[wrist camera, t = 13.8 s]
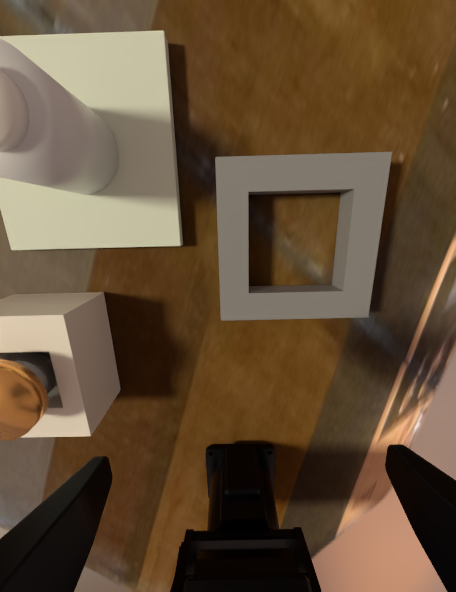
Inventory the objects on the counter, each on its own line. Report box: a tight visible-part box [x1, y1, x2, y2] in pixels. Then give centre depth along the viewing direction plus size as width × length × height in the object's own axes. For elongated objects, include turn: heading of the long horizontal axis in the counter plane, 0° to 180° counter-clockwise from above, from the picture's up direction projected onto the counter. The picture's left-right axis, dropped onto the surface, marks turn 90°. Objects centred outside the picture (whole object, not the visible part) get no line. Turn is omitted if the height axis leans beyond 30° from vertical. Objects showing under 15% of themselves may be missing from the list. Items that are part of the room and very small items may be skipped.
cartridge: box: [0, 39, 119, 194], centre depth 13 cm, size 5×5×7 cm
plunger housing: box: [0, 292, 121, 437], centre depth 19 cm, size 9×7×5 cm
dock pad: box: [0, 31, 183, 250], centre depth 16 cm, size 12×12×1 cm
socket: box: [215, 152, 392, 321], centre depth 17 cm, size 11×11×2 cm
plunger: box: [0, 352, 57, 440], centre depth 17 cm, size 5×5×6 cm
